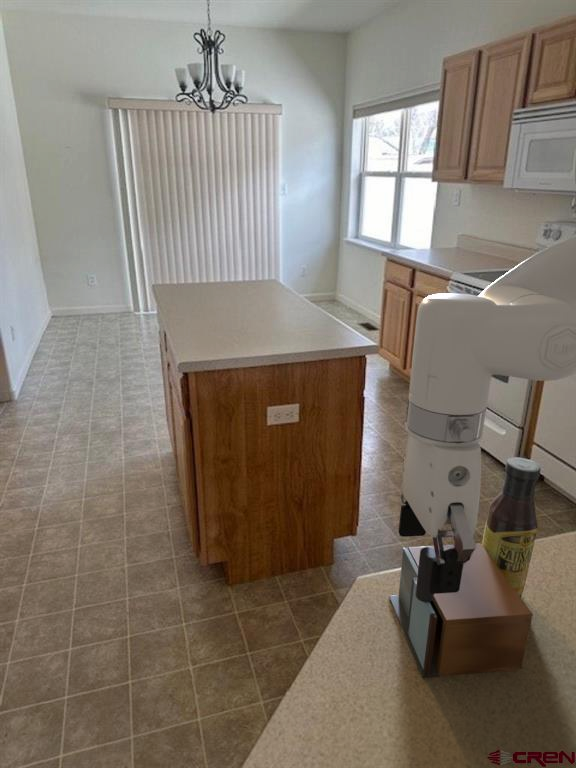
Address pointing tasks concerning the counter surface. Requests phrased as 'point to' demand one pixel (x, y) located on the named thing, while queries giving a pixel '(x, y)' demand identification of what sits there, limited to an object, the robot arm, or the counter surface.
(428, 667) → the glass door
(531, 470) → the sauce bottle
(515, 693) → the counter surface
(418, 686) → the counter surface
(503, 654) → the cabinet
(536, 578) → the counter surface
